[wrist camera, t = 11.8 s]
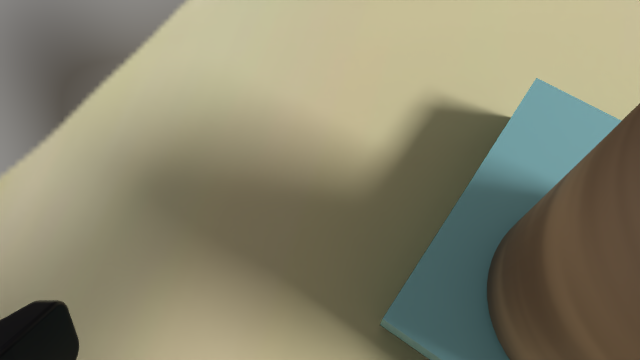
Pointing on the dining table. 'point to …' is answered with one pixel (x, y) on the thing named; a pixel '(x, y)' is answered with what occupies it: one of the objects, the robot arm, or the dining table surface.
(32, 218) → the dining table surface
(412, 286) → the base block
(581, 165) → the brown vase
